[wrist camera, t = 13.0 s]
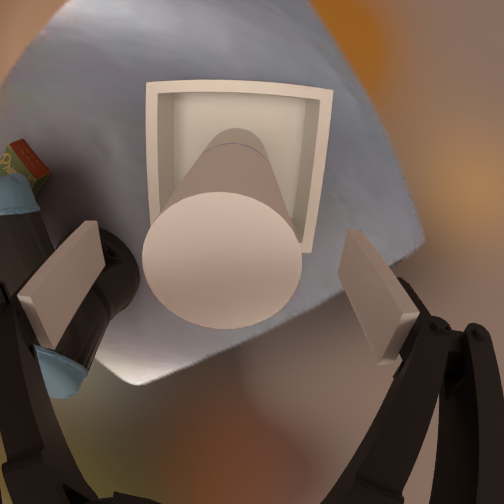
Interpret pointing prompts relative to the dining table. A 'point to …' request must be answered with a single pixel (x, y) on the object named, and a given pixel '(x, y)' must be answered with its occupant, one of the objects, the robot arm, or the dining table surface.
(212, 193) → the cylindrical container
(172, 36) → the dining table surface
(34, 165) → the carton
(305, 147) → the beige bin
